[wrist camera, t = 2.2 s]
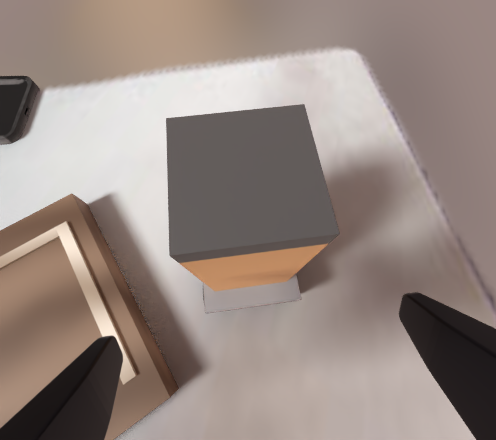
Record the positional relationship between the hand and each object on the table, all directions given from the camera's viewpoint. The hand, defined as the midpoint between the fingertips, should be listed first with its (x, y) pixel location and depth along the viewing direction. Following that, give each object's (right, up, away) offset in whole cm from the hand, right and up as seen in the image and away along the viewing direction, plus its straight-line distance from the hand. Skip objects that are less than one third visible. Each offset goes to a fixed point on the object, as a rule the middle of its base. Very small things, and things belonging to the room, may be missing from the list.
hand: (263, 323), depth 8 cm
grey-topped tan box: (-1, 0, +12) cm, 12 cm away
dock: (-15, -5, +10) cm, 19 cm away
